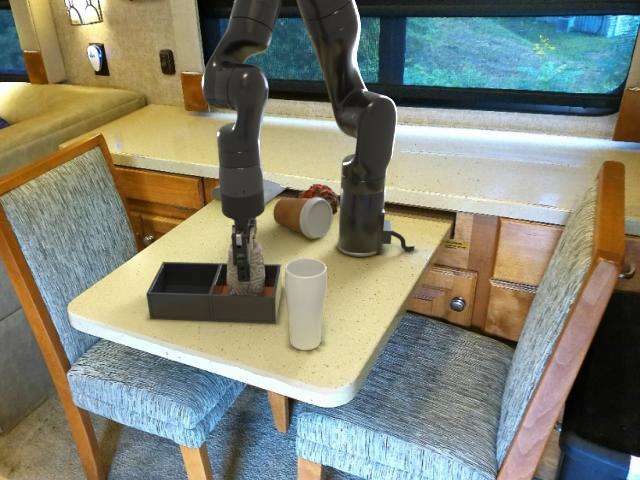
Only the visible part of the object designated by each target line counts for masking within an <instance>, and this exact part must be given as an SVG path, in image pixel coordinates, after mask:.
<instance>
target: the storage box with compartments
mask: <svg viewBox="0 0 640 480" xmlns="http://www.w3.org/2000/svg"><path fill="white" fill-rule="evenodd" d="M264 266H265V282H264V284H265V286H264V288H263V289H264V291H263V294H262V296H252V295H228V288H227V273H228V272H227V262H187V261H186V262H185V261H184V262H183V261H182V262H181V261H162V263H161V264H160V267H159V268H158V270H157V272H156V274H155V275H154V278H153V279H152V282H151V283H150V286H149V287H148V289H147V291H146V295H145V296H146V301H147V307H148V315H149V319H150V320H170V321H193V322H195V321H196V322H219V323H220V322H223V323H245V324H246V323H247V324H248V323H249V324H272V325H273V324H274V325H276V324H277V320H278V314H279V309H280V302H281V296H282V291H283V290H282V289H283V277H282V275H283V274H282V264H277V263H276V264H274V263H272V264H271V263H264Z"/></svg>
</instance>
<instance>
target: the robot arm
mask: <svg viewBox="0 0 640 480" xmlns="http://www.w3.org/2000/svg"><path fill="white" fill-rule="evenodd" d="M282 3H283V0H234V1H233V5H232V9H231V13H230V15H229V20H228V24H227V28H226V30H225V32H224V34H223V35H222V37H221V39H220V40H219V42H218V44H217V46H216V47H215V49H214V51H213V53H212V55H211V56H210V58H209V60H208V62H207V64H206V66H205V69H204V71H203V74H202V80H201V90H202V91H201V92H202V95H203V98H204V100H205V102H206V103H207V104H208V105H209V106H210V107H212V108H214V109H219V110H224V111H225V110H226V111H232V112H233V111H234V112H236V119H235V122H234V121H233V122H229V123H226V124H224V125H222V126H220V127H219V128H218V131H217V133H216V143H217V145H216V146H217V155H218V183H219V184H218V185H220V196H221V199H220V205H221V207H220V208H221V213H222V215H223V216H224V217H225V218H228V219H231V220H233V224H232V225H231V235H230V238H231V244H232V250H233V264H234V266H237V274H238V281H240V282H249V281H250V278H251V277H250V252H251V251H252V250H253V241H256V239H257V234H258V223H257V222H258V220H257V218H258V217H260V216H261V215H263V213H264V212H265V210H266V207H265V205H266V204H265V202H264V181H263V169H262V167H263V165H262V153H261V132H262V127H263V122H264V118H265V112H266V109H267V108H266V107H267V105H268V98H269V90H270V89H269V87H270V86H269V82H268V77H267V76H266V74H265V72H264V70H263V69H262V68H261V67H259V65H255V64H252V63H251V64H250V63H246V61H247V60H248V59H249V58H251V57H253V56H255V55H260V54H263V53H265V52H266V51H267V50H268V49H269V47H270V45H271V42H272V40H273V39H272V38H273V35H274V32H275V28H276V24H277V20H278V17H279V14H280V10H281V7H282ZM296 3H297V6H298V9H299V13H300V16H301V18H302V22H303V23H304V24H303V25H304V27H305V29H306V33H307V35H308V37H309V40H310V42H311V44H312V47H313V49H314V50H313V51H314V53H315V55H316V58H317V62H318V65H319V68H320V70H321V72H322V75H323V78H324V81H325V84H326V88H327V92H328V97H329V100H330V105H331V109H332V113H333V117H334V120H335V123H336V125H337V127H338V129H339V130H340V132H341V133H342V134H344V135H345V136H347V137H349V138H352V139H354V140H356V142H355V152H354V153H352V154H349V155H346V156H345V157H344V158H343V159H342V161H341V167H340V168H341V169H340V192H339V193H340V196H339V203H340V205H339V218H338V219H339V222H338V242H337V248H338V250H339V252H341V253H342V254H344V255H346V256H350V257H357V258H365V257H372V256H375V255H381V254H382V253H383V245H391V244H392V237H394V238H396V239H398V240H399V241H400V247H401V249H402V250H404V251H406V252H412V251H413V252H414V251H415V245H411V246H409V245H406V244H407V243H406V239H405V237H404V236H403V235H402V234H401V233H399V232H397V231H394V230H393V229H392V222H391V220H390V219H385V216H386V215H385V213H386V212H385V201H386V200H385V199H386V188H387V176H388V167H389V165H390V163H391V161H392V158H393V154H394V153H393V152H394V147H395V139H396V132H397V124H398V111H397V107H396V104H395V102H394V101H393V99H391V97H388V96H386V95H383V94H380V93H376V92H374V91H370V90H368V89H367V87H366V86H365V83H364V80H363V78H362V76H361V72H360V69H359V64H358V60H357V59H358V58H357V57H358V56H357V55H358V54H357V53H358V48H359V43H360V37H361V19H360V14H359V11H358V6H357V4H356V1H355V0H296ZM247 244H249V245H248V246H247ZM239 254H244V257H239Z"/></svg>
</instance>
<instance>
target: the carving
mask: <svg viewBox="0 0 640 480" xmlns="http://www.w3.org/2000/svg"><path fill="white" fill-rule="evenodd" d="M248 245H249V244H247V246H248ZM239 257H244V254H239ZM226 263H227V272H228V273H227V288H228V295H252V296H262V294H263V291H264V289H263V288H264V286H265V284H264V282H265V266H264V264H265V257H264V250H263V248H262V245H261V244H260V243H259V242H258V241H257V240H255V241H253V250H252V251H251V252H250V277H251V278H250V281H249V282H240V281H238V274H237V266H234V264H233V250H232V243H231V244H229V246H228V249H227V261H226Z"/></svg>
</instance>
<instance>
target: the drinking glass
mask: <svg viewBox="0 0 640 480" xmlns="http://www.w3.org/2000/svg"><path fill="white" fill-rule="evenodd" d="M284 267H285V268H284V292H285V300H286V301H285V302H286V310H287V318H288V319H287V320H288V328H289V329H288V330H289V343H290V345H291V346H292V347H294V348H295V349H297V350H300V351H312V350H314V349H316V348H317V347H319V345H320V344H321V342H322V329H323V320H324V313H325V305H326V295H327V286H328V272H327V271H328V270H327V265H326V263H325V262H323V261H322V260H320V259H317V258H314V257H299V258H295V259H292V260H290V261H289V262H287V264H286V265H285V266H284Z"/></svg>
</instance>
